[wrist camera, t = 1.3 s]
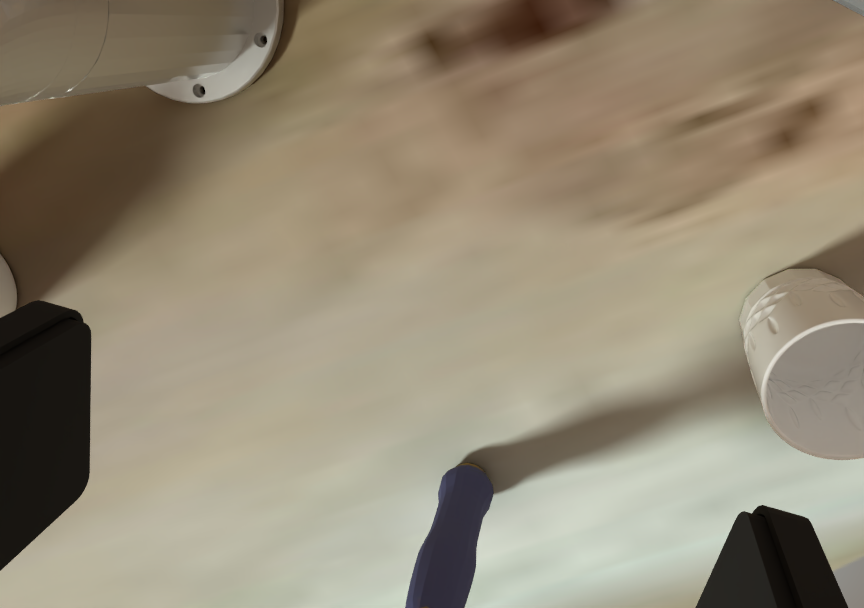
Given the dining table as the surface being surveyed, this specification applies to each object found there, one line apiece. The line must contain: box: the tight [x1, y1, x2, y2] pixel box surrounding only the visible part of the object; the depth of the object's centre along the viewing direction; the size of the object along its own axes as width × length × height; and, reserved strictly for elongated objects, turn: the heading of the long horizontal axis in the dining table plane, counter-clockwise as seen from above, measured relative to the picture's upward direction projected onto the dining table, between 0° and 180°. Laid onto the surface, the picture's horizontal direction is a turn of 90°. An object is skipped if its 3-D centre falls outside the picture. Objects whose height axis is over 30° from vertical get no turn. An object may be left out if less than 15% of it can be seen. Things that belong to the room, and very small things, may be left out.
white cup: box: [739, 269, 864, 460], centre depth 41 cm, size 8×8×10 cm
